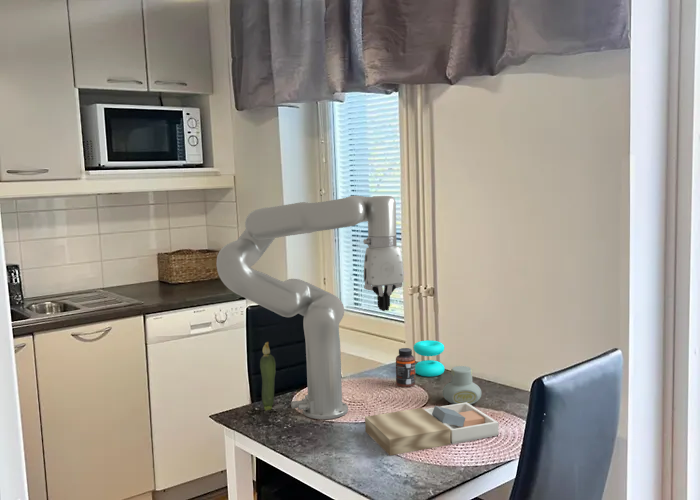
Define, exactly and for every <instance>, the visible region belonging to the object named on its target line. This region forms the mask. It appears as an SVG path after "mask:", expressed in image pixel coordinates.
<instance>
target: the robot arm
mask: <svg viewBox="0 0 700 500" xmlns="http://www.w3.org/2000/svg"><path fill="white" fill-rule="evenodd" d="M396 202H397V201H396V198H395V197H393V196H392V195H375V196H362V195H349V196H347V197H346V196H345V197H343V198H338V199H337V198H336V199H332V200H324V201H319V202H304V201H303V202H300V201H299V202H294V203H288V204H284V205H283V204H281V205H276V206H269V207H261V208H258V209H255V210H252V211H251V212H250V213H248V215H246V216H247V217H246V218H245V222H244V224H245V225H244V227H245V230H244V231H243V232H242V234H241V235H240V236H239V238H237V240H235V241H232V242H229V243H227V244H226V245H224V246H223V247H222V248H221V249H220V250H219V252H218V254H217V256H216V271H217V274H218V277H219V279H220V281H221V282H222V283H223V285H224V286H225V287H226V288H228V290H230V291H232V292H233V293H234V294H236V295H238V296H240V297H242V298H245V299H246V300H249V301H251V302H253V303H255V304H256V305H259V306H261V307H263V308H265V309H267V310H268V311H271V312H274V313H275V314H277V315H278V316H281V317H285V318H292V317H294V316H296V315H298V314H299V315H301V316H302V317H303V321H302V322H303V332H304V339H305V354H306V355H305V357H306V378H307V379H306V382H307V394H304V398H302V399H301V400H294V401H293V400H292V401H290V405H291V406H290V407H291V409H298V410H302V413H303V415H304V416H306V417H308V418H310V419H315V420H331V419H332V420H333V419H337V418H340V417H342V416H345V415H346V414H347V413H348V412H349V406H348V405H347V404H346V403H345V402H343V388H342V387H343V386H342V385H343V381H342V356H341V354H342V352H341V338H340V323H341V321H342V320H343V318H344V314H345V307H344V304H343V302H342V300H341V299H340V298H339V297H338V296H337V295H335V294H333V293H331V292H328V291H326V290H324V289H323V288H320V287H318V286H315V285H314V284H312V283H310V282H307V281H305V280H303V279H299V278H289V279H286V280H284V281H283V280H280V279H278V278H276V277H274V276H271V275H269V274H267V273H264V272H262V271H259V270H256V269H254V268H253V266H254V265H255V264H256V263H258V261H260V259H261V258H262V256H263V254H264V253H266V251H267V250H268V248H269V247H270V246H271V245H272V243H273V241H274V240H276V239H277V238H283V237H290V236H296V235H304V234H305V235H306V234H311V233H312V234H313V233H314V232H315V233H316V232H323V231H329V230H336V229H342V228H343V229H344V228H348V227H353V226H356V225H358V224H360V223H365V222H367V238H364V239H363V241H362V242H363V245H367V247H366V249H365V254H364V260H363V282H364V285H363V286H364V287H363V289H364V290H366V291H367V290H368V291H372V292H373V293H375V295H376V297H377V298H376V299H377V308H378V310H380V311H382V312H385V311H389V310H390V307H391V296H392V293H393V292H394V291H395V289H398V288H401V287H402V286H403V282H404V278H405V274H404V264H403V256H402V252H401V248H400V246H397V245H398V244H397V242H398V241H397V209H396V207H397V206H396V205H397V204H396Z"/></svg>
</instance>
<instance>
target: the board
mask: <svg viewBox="0 0 700 500" xmlns="http://www.w3.org/2000/svg"><path fill="white" fill-rule="evenodd" d="M424 409H425V408H423V407H418V408H411V409H406V410H400V411H393V412H387V413H380V414H374V415H373V414H372V415H368V416H364V422H365V424H364V425H365V426H364V427H365V430H364V432H365V433H366V434H367V435H368V436H369V437H370V438H371V440H373V441H374V442H375V443H376V444H377V445H378V446H379V447H381V449H383V451H384V452H386V453H387V454H388V456H394V455H395V456H396V455H400V454H407V453H411V452H412V453H413V452H418V451H423V450H428V449H434V448H440V447H445V446H450V445H451V443H450V428H448V427H447V426H446V425H444V424H443V423H442V422H440V421H439V420H438V419H436V418H435V417H433V416H432V415H431V414H429V413H428V412H427V411H425V410H424Z"/></svg>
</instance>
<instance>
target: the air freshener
mask: <svg viewBox="0 0 700 500" xmlns="http://www.w3.org/2000/svg"><path fill="white" fill-rule="evenodd" d="M450 371H451V372H450V377H451V379H450V382H448V383H446V384H445V386H443V389H442V396H443V398H444V400H446V401H447V402H448V403H450V404H451V405H453V404H459V403H466V402H467V403H469V404H470V405H473V404H475V403H477V402H478V401H479V400H480V399H481V397H482V389H481V388H480V386H479V385H478V384H476V383H475V382H473V369H472V368H471V367H470V366H465V365H458V366H457V365H456V366H453V367H452V368H451V370H450Z"/></svg>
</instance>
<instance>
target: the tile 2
mask: <svg viewBox="0 0 700 500" xmlns="http://www.w3.org/2000/svg"><path fill="white" fill-rule="evenodd" d="M459 414H460V415H462V416H463V417H465V421H464V424H463V427H467V426H473V425H479V424H484V423H485V418H484V417H482V416H481V415H479V414H478V413H476V412H475V411H466V412H460V413H459ZM458 427H460V426H458ZM460 428H461V427H460Z"/></svg>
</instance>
